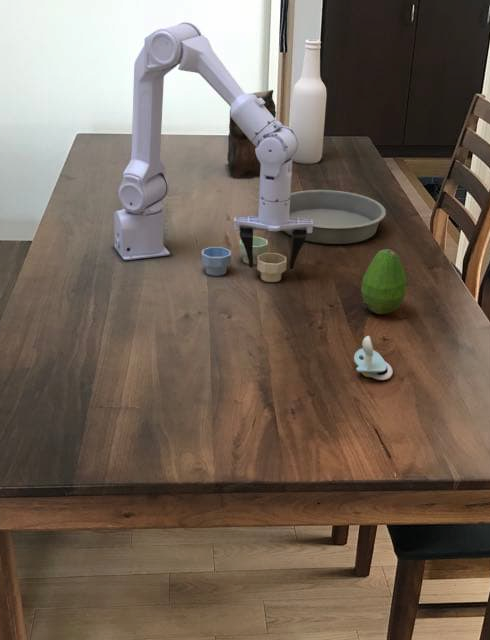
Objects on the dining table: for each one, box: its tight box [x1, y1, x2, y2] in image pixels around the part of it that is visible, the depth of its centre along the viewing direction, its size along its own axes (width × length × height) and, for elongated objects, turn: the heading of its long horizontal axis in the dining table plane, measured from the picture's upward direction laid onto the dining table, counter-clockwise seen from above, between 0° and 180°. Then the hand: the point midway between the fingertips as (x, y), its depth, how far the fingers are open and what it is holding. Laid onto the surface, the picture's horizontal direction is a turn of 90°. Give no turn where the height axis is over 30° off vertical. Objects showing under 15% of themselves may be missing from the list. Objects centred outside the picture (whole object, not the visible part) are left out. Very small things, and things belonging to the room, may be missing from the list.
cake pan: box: [283, 189, 387, 245], centre depth 195 cm, size 25×25×4 cm
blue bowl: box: [201, 246, 232, 277], centre depth 172 cm, size 6×6×4 cm
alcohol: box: [290, 38, 328, 165], centre depth 231 cm, size 9×9×30 cm
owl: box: [227, 89, 277, 179], centre depth 222 cm, size 13×13×20 cm
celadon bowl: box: [238, 236, 269, 265], centre depth 177 cm, size 6×6×4 cm
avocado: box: [360, 248, 408, 315], centre depth 157 cm, size 8×8×12 cm
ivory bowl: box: [256, 252, 288, 283], centre depth 170 cm, size 6×6×4 cm
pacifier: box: [353, 335, 394, 381], centre depth 139 cm, size 7×6×6 cm
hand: (271, 266), depth 170 cm, fingers open, 7 cm apart
